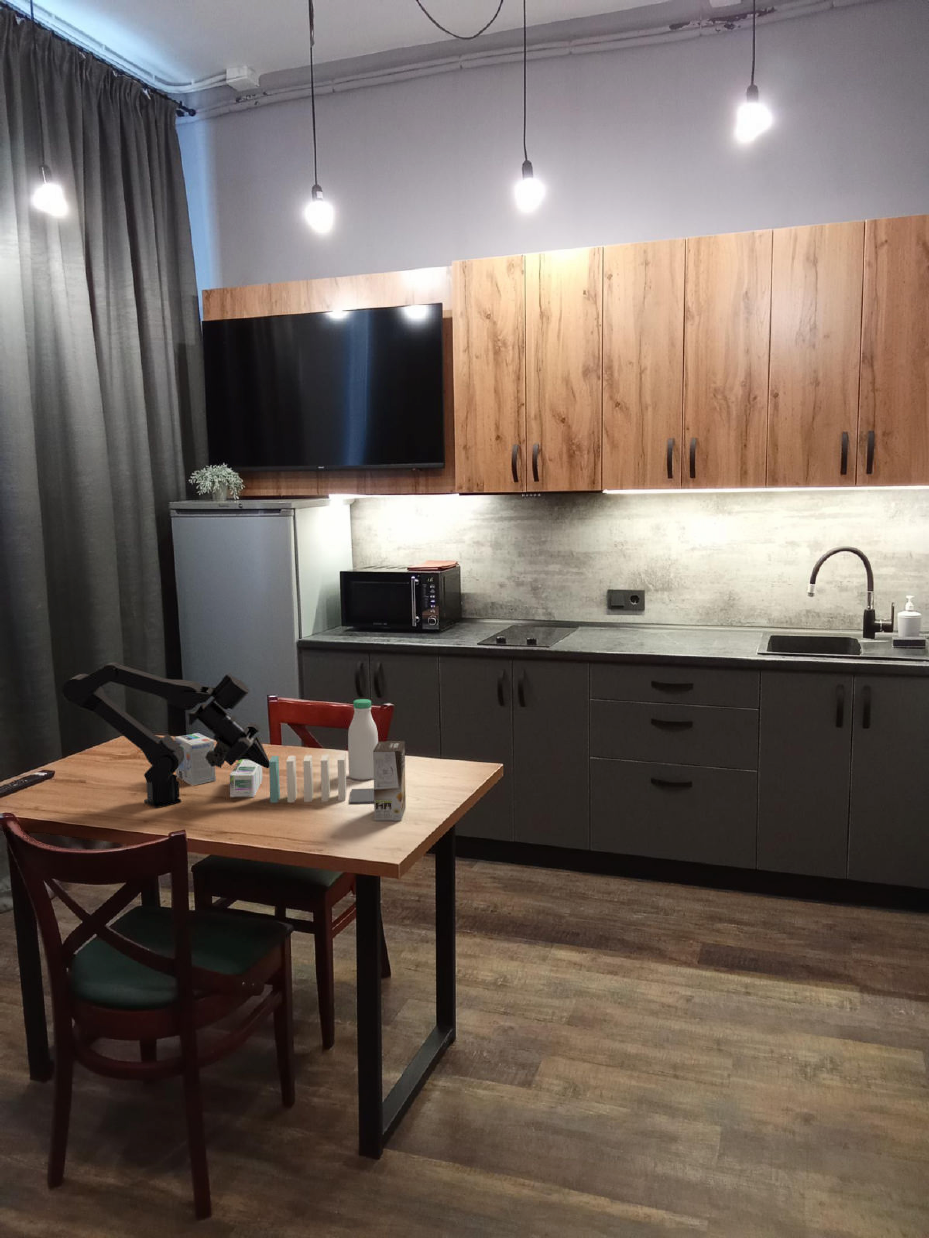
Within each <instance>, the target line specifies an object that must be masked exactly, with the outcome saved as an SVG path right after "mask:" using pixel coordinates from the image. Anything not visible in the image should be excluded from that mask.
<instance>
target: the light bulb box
mask: <svg viewBox="0 0 929 1238" xmlns="http://www.w3.org/2000/svg"><path fill="white" fill-rule="evenodd" d="M174 741H176V742H178V743H181V745H180V747H181V748H182V749H183V751H184V760H183V762H182V763H181V765H180V766H179V767H178V768H177V769H176V771H175V775H177V779H180V780H182V781H183V780H184V781H183V782H185V783H186V784H188V785H190V784H191V785H193V786H196V785H195V784H198V785H201V784H202V783H204V784H207V782H209V783H212V782H211V781H214V782H216V779H217V778H216V777H217V776H216V766H214V767H212V766H211V765H210V764H208V761H207V760H206V758H205V757H206V755H207V753H208V751H213V750H214V748H215V740H214V739H212V738H210V737H207V736H205V735H203V734H201V733H199V732H195V733H192V734H191V733H190V734H186V735H179V736H174ZM191 785H190V786H191ZM202 785H203V784H202Z"/></svg>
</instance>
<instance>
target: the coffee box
mask: <svg viewBox="0 0 929 1238" xmlns="http://www.w3.org/2000/svg"><path fill="white" fill-rule="evenodd" d="M405 745H406V743H405V740H387V741H378V743H377V745H376V747H375V748H374V750H373V761H374V778H373V788H374V803H373V809H374V813H373V814H374V820H373V821H377V822H378V821H380V822H383V821H384V822H385V821H389V822H390V821H394V822H395V821H397V822H400V821H402V820H403V817H404V813H405V811H406V806H407V805H406V803H407V800H406V799H407V798H406V746H405Z"/></svg>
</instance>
